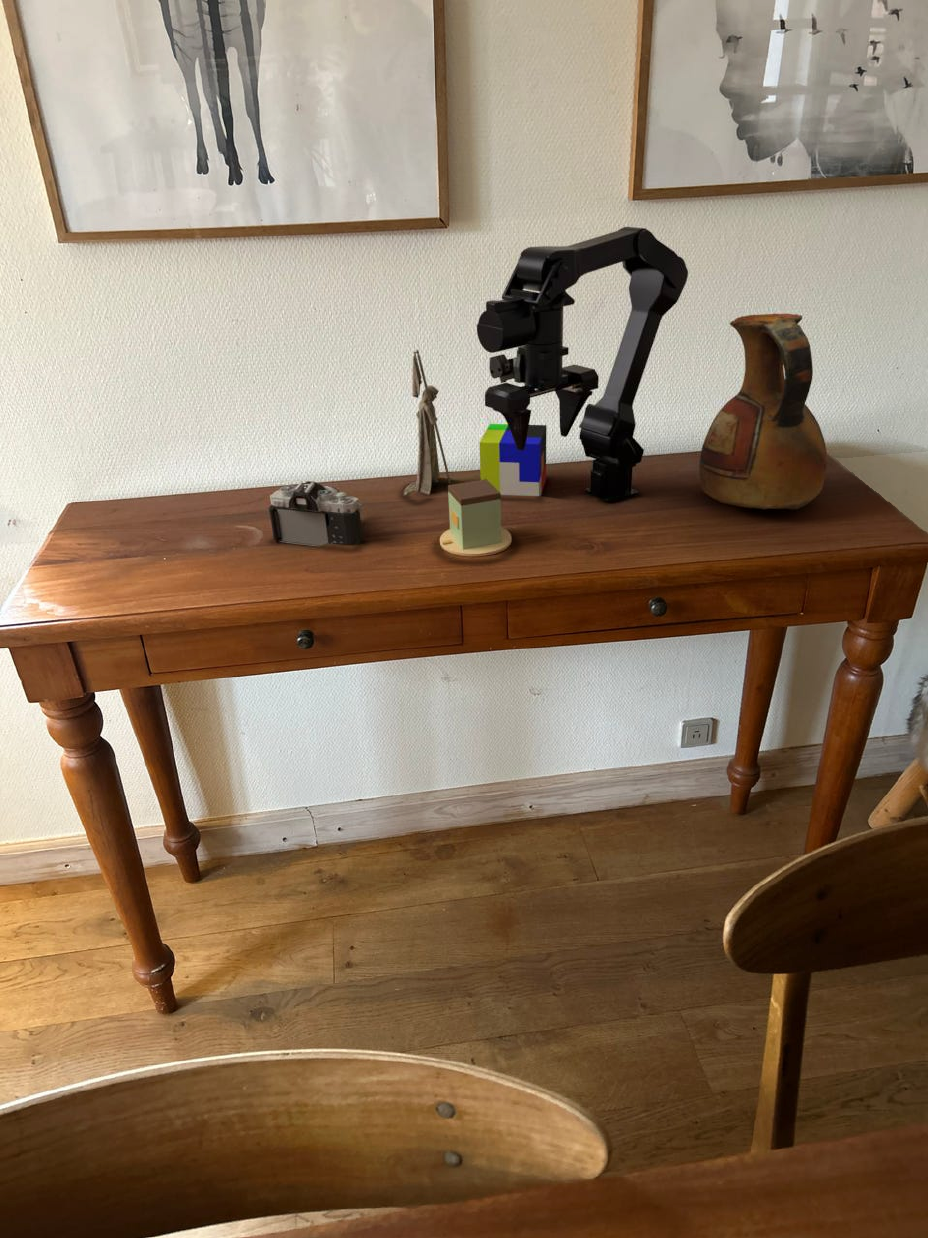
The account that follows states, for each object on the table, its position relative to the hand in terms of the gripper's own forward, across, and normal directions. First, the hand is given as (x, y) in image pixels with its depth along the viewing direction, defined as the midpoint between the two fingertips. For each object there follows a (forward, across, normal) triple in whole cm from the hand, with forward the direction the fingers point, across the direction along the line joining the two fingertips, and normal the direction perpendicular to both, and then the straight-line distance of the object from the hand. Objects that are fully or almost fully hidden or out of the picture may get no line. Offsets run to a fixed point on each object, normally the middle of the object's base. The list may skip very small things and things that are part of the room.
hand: (542, 442), depth 139 cm
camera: (+13, +30, -19) cm, 38 cm away
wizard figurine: (+13, +6, -23) cm, 27 cm away
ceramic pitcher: (+13, -31, +19) cm, 39 cm away
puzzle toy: (+13, -6, -13) cm, 20 cm away
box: (+12, +14, 0) cm, 19 cm away
